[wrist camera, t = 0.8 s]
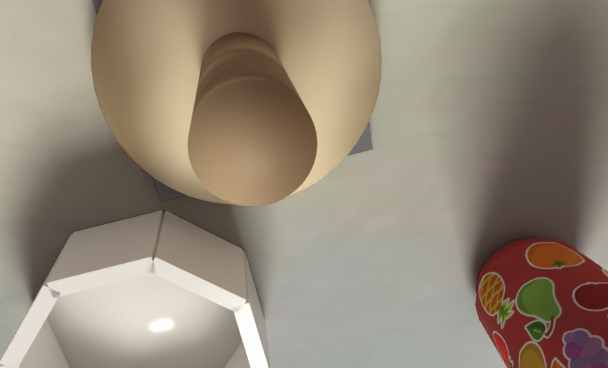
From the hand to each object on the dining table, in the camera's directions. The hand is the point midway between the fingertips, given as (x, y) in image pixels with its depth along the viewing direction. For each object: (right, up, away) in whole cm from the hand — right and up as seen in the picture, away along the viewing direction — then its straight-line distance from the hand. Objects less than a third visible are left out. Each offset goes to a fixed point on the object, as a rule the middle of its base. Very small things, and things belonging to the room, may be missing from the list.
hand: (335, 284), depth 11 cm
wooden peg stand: (-4, +7, +17) cm, 18 cm away
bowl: (-9, -5, +21) cm, 24 cm away
